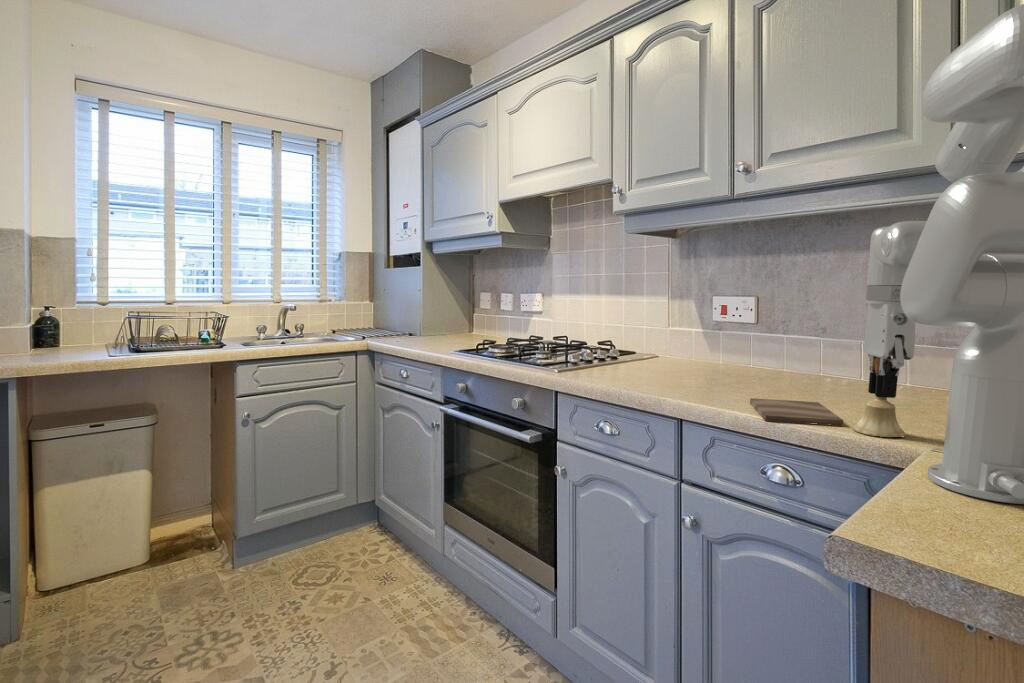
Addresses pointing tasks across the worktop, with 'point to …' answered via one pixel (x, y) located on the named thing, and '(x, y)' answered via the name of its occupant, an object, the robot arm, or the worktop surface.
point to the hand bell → (879, 416)
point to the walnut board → (794, 412)
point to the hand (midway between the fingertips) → (881, 394)
